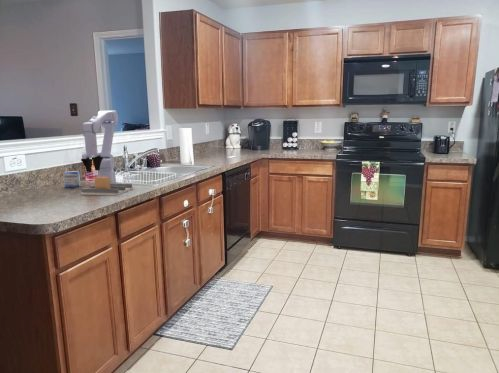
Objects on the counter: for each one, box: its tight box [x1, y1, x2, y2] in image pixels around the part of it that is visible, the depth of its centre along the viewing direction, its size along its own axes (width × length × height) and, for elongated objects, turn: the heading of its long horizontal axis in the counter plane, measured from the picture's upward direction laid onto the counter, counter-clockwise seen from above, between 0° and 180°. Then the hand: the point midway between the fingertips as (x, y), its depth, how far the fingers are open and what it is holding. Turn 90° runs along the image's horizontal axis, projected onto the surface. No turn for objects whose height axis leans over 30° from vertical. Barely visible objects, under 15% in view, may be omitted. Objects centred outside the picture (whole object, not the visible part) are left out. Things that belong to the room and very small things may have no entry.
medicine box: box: [62, 170, 82, 188], centre depth 218 cm, size 8×4×9 cm, turn 105°
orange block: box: [93, 176, 110, 189], centre depth 197 cm, size 4×6×7 cm, turn 79°
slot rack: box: [80, 183, 134, 196], centre depth 201 cm, size 17×20×3 cm
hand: (93, 171), depth 204 cm, fingers open, 7 cm apart
